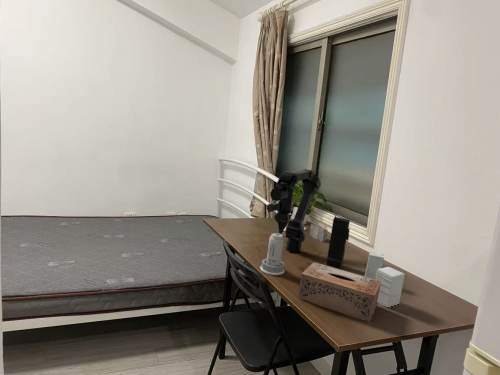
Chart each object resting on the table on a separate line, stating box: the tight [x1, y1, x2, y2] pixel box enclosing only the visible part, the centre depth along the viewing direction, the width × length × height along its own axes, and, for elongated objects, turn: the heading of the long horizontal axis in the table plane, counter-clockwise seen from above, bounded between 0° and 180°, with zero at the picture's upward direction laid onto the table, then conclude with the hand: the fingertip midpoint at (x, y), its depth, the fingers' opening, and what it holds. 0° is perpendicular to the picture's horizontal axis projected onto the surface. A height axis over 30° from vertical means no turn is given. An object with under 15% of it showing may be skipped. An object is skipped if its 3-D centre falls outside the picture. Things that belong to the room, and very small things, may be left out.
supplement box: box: [375, 266, 406, 308], centre depth 137 cm, size 7×7×13 cm
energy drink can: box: [266, 232, 284, 266], centre depth 155 cm, size 6×6×15 cm
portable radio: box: [326, 215, 351, 269], centre depth 168 cm, size 8×6×25 cm
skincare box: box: [364, 251, 385, 279], centre depth 156 cm, size 6×4×12 cm
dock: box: [259, 258, 285, 276], centre depth 156 cm, size 10×10×3 cm
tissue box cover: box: [297, 261, 381, 322], centre depth 133 cm, size 26×14×10 cm, turn 63°
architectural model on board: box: [308, 223, 329, 243], centre depth 210 cm, size 11×3×10 cm, turn 32°
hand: (281, 231), depth 170 cm, fingers open, 9 cm apart
